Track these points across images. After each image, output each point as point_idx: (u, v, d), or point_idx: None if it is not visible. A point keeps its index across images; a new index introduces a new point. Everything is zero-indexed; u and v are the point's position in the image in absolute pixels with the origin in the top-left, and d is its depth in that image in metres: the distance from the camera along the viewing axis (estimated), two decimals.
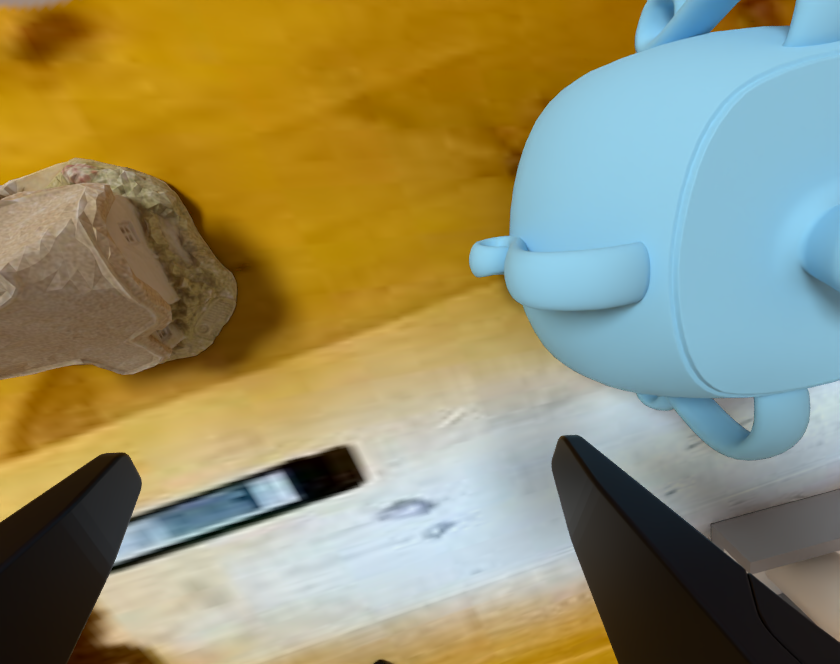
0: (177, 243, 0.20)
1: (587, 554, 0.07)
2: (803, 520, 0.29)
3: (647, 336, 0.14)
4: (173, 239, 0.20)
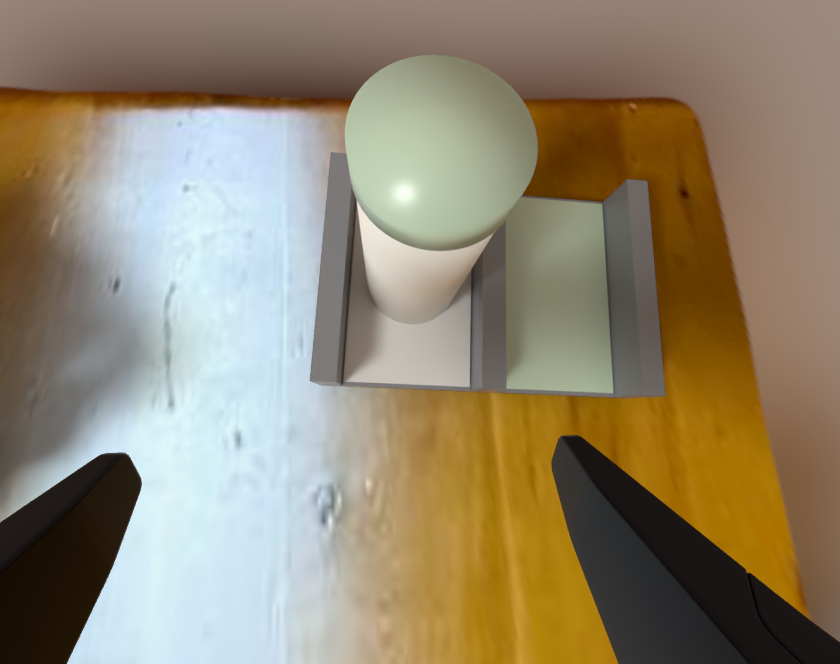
0: None
1: (587, 554, 0.07)
2: None
3: None
4: None
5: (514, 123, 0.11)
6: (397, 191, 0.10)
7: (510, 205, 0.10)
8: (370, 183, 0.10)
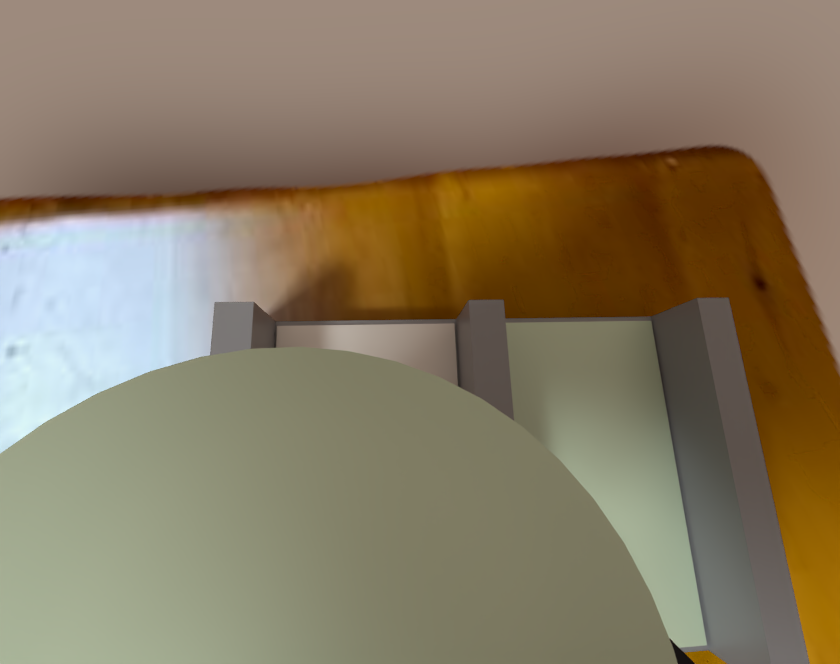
0: None
1: None
2: None
3: None
4: None
5: (584, 642, 0.03)
6: None
7: None
8: None
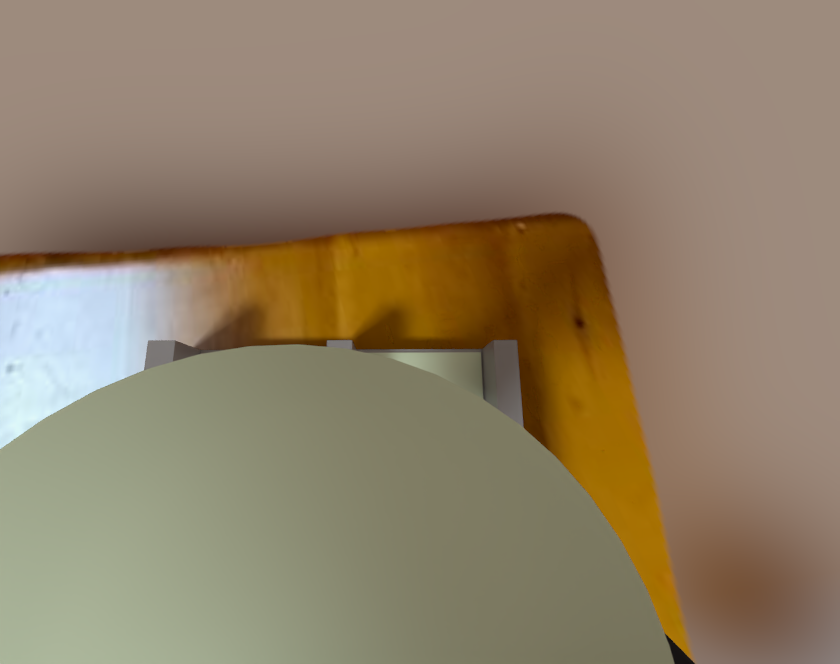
0: None
1: None
2: None
3: None
4: None
5: (580, 638, 0.03)
6: None
7: None
8: None
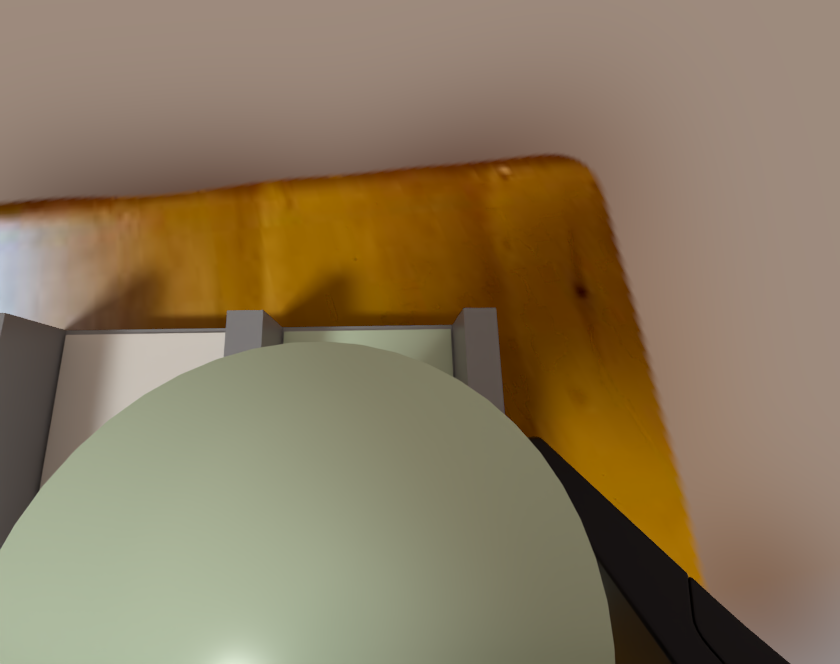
0: None
1: None
2: None
3: None
4: None
5: (531, 552, 0.03)
6: None
7: None
8: None
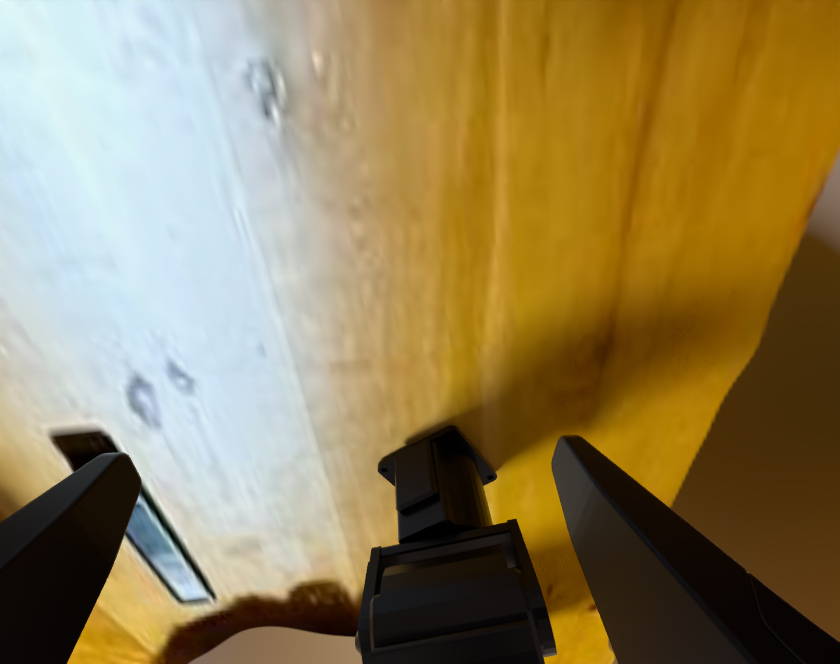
0: None
1: (587, 554, 0.07)
2: None
3: None
4: None
5: None
6: None
7: None
8: None
